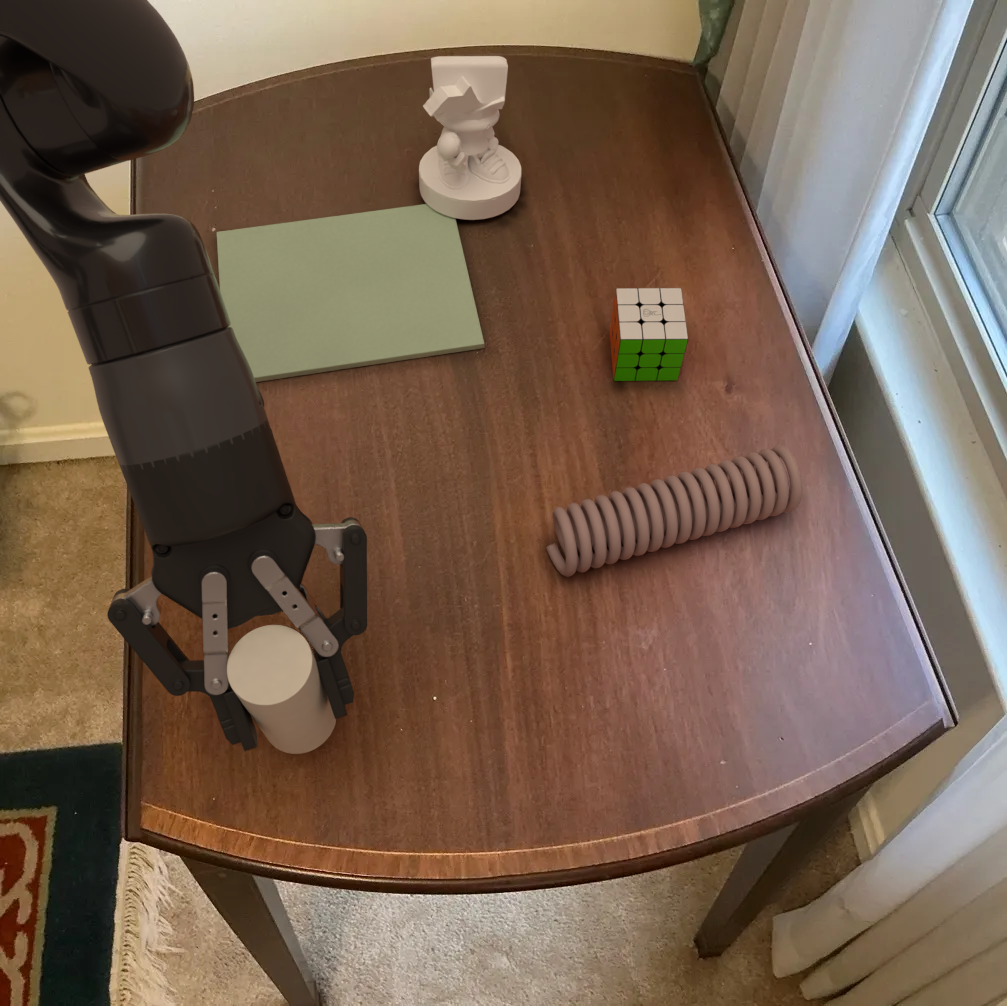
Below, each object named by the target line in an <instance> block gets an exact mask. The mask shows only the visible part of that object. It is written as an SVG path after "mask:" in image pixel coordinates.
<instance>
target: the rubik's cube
mask: <svg viewBox="0 0 1007 1006" xmlns="http://www.w3.org/2000/svg"><path fill="white" fill-rule="evenodd" d="M608 333H609V342H610V355H611V367H612V378H613V382H648V381H649V382H658V381H660V382H661V381H667V382H668V381H671V382H672V381H677V382H678V380H679V377H680V373H681V369H682V365H683V362H684V358H685V354H686V349H687V346H688V342H689V333H688V325H687V319H686V312H685V303H684V296H683V288H682V287H640V288H639V287H621V288H619V287H616V288H615V292H614V298H613V305H612V311H611V319H610V325H609V332H608Z"/></svg>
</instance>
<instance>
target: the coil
mask: <svg viewBox="0 0 1007 1006" xmlns="http://www.w3.org/2000/svg"><path fill="white" fill-rule="evenodd" d="M783 463H784V465H783ZM754 467H755V468H754ZM785 467H786V468H785ZM786 470H787V472H786ZM787 473H788V475H787ZM788 478H789V479H788ZM729 481H730V482H729ZM715 483H716V484H715ZM716 486H717V487H716ZM789 487H790V488H789ZM717 490H718V492H717ZM703 492H704V493H703ZM718 493H719V495H720V498H719V495H718ZM733 494H734V496H733ZM704 495H705V496H704ZM802 495H803V479H802V472H801V470H800V466H799V463H798V461H797V459H796V457H795V456H794V454H793V452H792V451H791V449H789V448H788V447H787V446H785V445H782V444H777V445H774V446H773V447H771V449H770V448H763V449H760V450H759V451H758V452H754V451H753V452H749V453H747V454H746V455H745V456H741V455H738V456H735V457H733V458H732V459H731V460H728V459H723V460H721V461H720V462H719V463H718V464H715V463H709V464H707V465H706V466H705V467H704V468H702V467H695V468H693V469H692V470H691V472H689V471H681V472H680V473H678V475H677V476H675V475H673V474H670V475H667V476H666V477H665V478H664V479H663V480H662V479H659V478H657V479H656V478H655V479H653V480H652V481H651V482H650V484H648V483H646V482H642V483H639V484H638V485H637V487H636V488H634V487H632V486H628V487H625V488H624V489H623V490H622V492H621V491H618V490H613V491H611V492H610V493H609V496H607V495H604V494H599V495H597V496H596V497H595V499H594V500H592V499H591V498H584V499H583V500H582V501H581V503H580V505H579V504H578V503H576V502H571V503H569V504H568V505H567V508H566V509H565V508H564V507H562V506H556V507H555V508H554V509H553V511H552V520H553V526H554V530H555V533H556V537H557V539H558V543H559V544H560V545H559V546H560V548H561V551H562V552H563V554H564V556H565V559H564V557H563V555H562V553H561V551H560V549H559V547H558V544H557V542H554V543H552V544H550V545H547V546H545V548H546V549H545V550H546V551H547V554H548V556H549V558H550V560H551V562H552V564H553V565H554V567H555V568H556V570H557V571H558V572H559V574H561V576H564V577H572V576H573V575H574V574H575V573H576V572H578V573H585V572H587V571H588V570H590V568H593V569H598V568H602V566H604V564H607V565H613V564H615V563H616V562H617V561H618V560H622V561H626V560H629V559H630V558H632V556H636V557H639V556H643V555H644V554H645V553H646V552H651V553H652V552H656V551H658V550H659V549H660V548H663V549H667V548H670V547H672V546H673V545H674V544H678V545H679V544H684V543H686V542H687V541H688V540H691V541H692V540H693V541H694V540H697V539H699V538H701V537H702V536H704V537H706V536H712V535H714V533H715V532H718V533H722V532H725V531H727V530H728V529H729V528H731V529H733V528H739V527H740V526H742V525H743V524H744V525H748V524H753V523H754V522H756V520H757V521H762V520H766V519H768V517H776V516H779V515H781V514H782V513H790V512H793V511H794V510H796V509H797V508H798V506H799V505H800V503H801V499H802ZM705 499H706V500H705ZM607 547H608V548H607ZM593 551H594V552H593ZM578 553H579V555H578Z"/></svg>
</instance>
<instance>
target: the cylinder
mask: <svg viewBox="0 0 1007 1006" xmlns="http://www.w3.org/2000/svg"><path fill="white" fill-rule="evenodd" d="M229 653H230V654H229V659H228V663H227V677H228V681H229V684H230V686H231V688H232V689H233V691H234V692H235V694H236V695H237V696H238V698H239V699H240V701H241V702H242V704H243V705H244V706H245V708H246V709H247V711H248V712H249V714H250V715H251V717H252V720H253V722H255V724H256V725H257V727H258V728H259V729H260V730H261V732H262V733H263V735H264V737H265V738H266V739H267V741H268V742H269V743H270V744H271V745H272V746H273V747H274V748H276V749H277V750H279V751H281V752H283V753H287V754H292V755H300V754H305V753H310V752H311V751H314V750H315V749H318V748H319V747H320V746H322V745H323V744H324V743H325V742H326V741H327V740H328V739H329V737H330V736H331V735H332V733H333V731H334V729H335V727H336V722H337V719H335V717H334V714H333V711H332V708H331V705H330V702H329V700H328V697H327V694H326V691H325V688H324V685H323V682H322V679H321V676H320V673H319V670H318V667H317V664H316V659H315V656H314V652H313V649H312V648H311V646H310V644H309V641H308V640H307V638H306V637H305V636H304V635H302V633H300V632H299V631H297V630H296V629H294V628H292V627H289V626H287V625H281V624H268V625H262V626H259V627H257V628H254V629H252V630H251V631H248V632H247V633H245V635H243V636H242V637H241V638H240V639H239V640H238V641H236V643H235V645H233V648H232V649H231V651H230V652H229Z"/></svg>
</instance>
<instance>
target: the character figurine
mask: <svg viewBox="0 0 1007 1006" xmlns="http://www.w3.org/2000/svg"><path fill="white" fill-rule="evenodd" d="M430 65H431V75H432V87H433V88H432V87H430V88H429V98H428V99H427V100H426V102H425V103H423V105H422V107H423V109H424V110H425V111H426V113H427V114H428V115H429V116H430V117H433V118H434V119H435V120H436V121H437V122H439V123H440V124H441V125H442V126H443V128H442V130H441V133H440V136H439V138H438V140H437V144H436V145H435V146H433V147H431V148H430V149H429V150H428V151H427V152H425V153H424V155H423V156H422V158H421V159H420V161H419V166H418V179H419V180H418V185H419V186H418V187H419V188H418V189H419V193H420V194H419V195H420V197H421V198H422V200H423V201H424V203H425V204H428V205H429V206H430V207H431V208H432V209H434V210H435V211H437V212H439V213H441V214H443V215H446V216H449V217H453V218H456V219H459V220H466V221H467V220H468V221H475V220H476V221H477V220H485V219H491V218H494V217H497V216H500V215H503V214H504V213H506V212H507V211H510V209H511V208H512V207H513V206H515V204H516V203H517V201H518V200H519V199H520V194H521V187H522V186H521V184H522V165H521V162H520V160H519V159H518V158H517V156H516V155H515V154H514V153H513V152H512V151H510V150H509V149H507V148H506V147H505V146H502V144H501V145H500V144H499V139H498V138H497V137H495V135H496V133H495V130H494V128H493V127H494V126H495V125H496V124H497V123H498V122H499V119H500V111H499V110H503V107H504V106H505V102H506V92H507V91H506V90H507V82H508V72H509V71H508V70H509V65H508V61H507V58H505V57H504V56H502V55H453V56H452V55H451V56H450V55H447V56H444V55H443V56H442V55H441V56H433V57H431V58H430Z"/></svg>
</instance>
